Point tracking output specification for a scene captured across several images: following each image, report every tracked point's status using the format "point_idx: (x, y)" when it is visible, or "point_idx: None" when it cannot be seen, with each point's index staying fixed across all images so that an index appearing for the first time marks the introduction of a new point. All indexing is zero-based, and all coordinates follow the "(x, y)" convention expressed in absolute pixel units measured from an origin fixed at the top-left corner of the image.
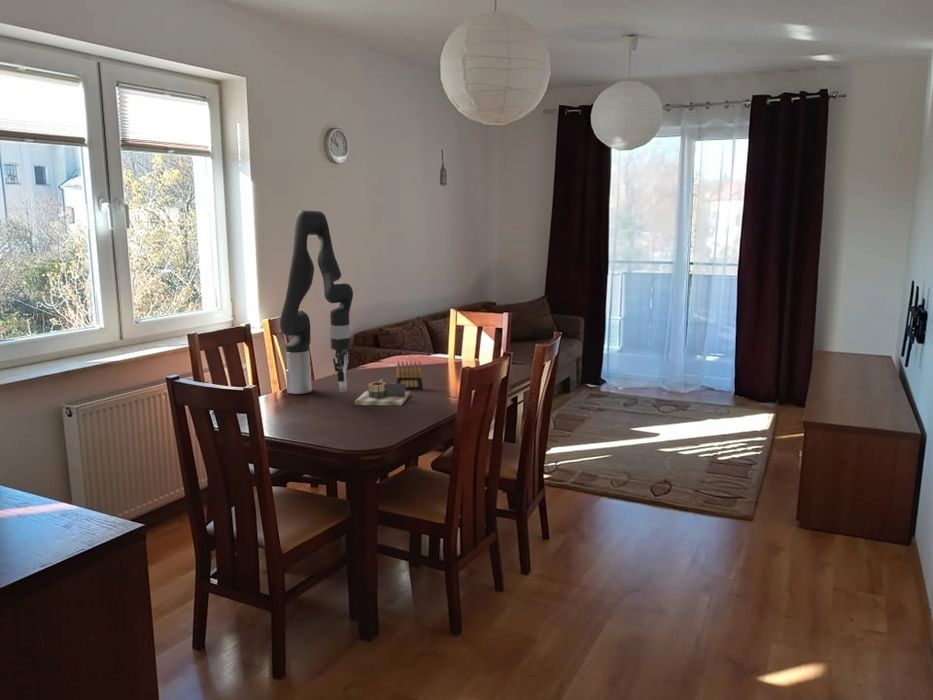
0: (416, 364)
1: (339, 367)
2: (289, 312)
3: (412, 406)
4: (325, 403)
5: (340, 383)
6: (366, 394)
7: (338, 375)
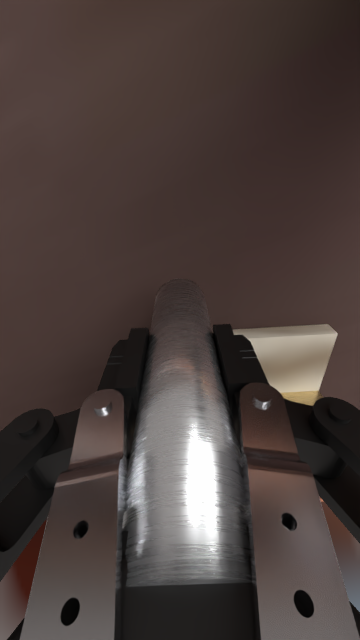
0: None
1: (131, 452)
2: None
3: None
4: (153, 171)
5: (151, 325)
6: (268, 354)
7: (104, 375)
